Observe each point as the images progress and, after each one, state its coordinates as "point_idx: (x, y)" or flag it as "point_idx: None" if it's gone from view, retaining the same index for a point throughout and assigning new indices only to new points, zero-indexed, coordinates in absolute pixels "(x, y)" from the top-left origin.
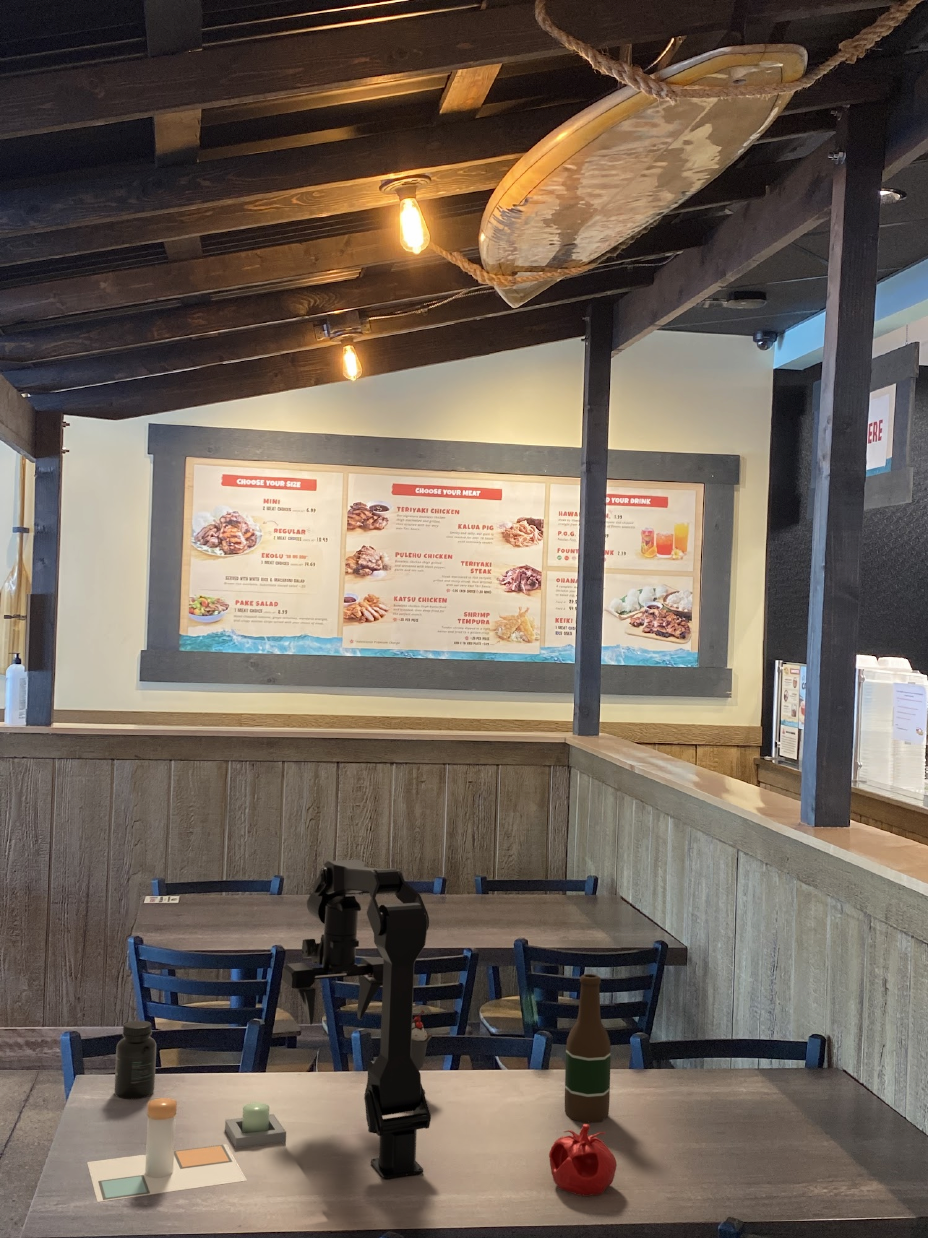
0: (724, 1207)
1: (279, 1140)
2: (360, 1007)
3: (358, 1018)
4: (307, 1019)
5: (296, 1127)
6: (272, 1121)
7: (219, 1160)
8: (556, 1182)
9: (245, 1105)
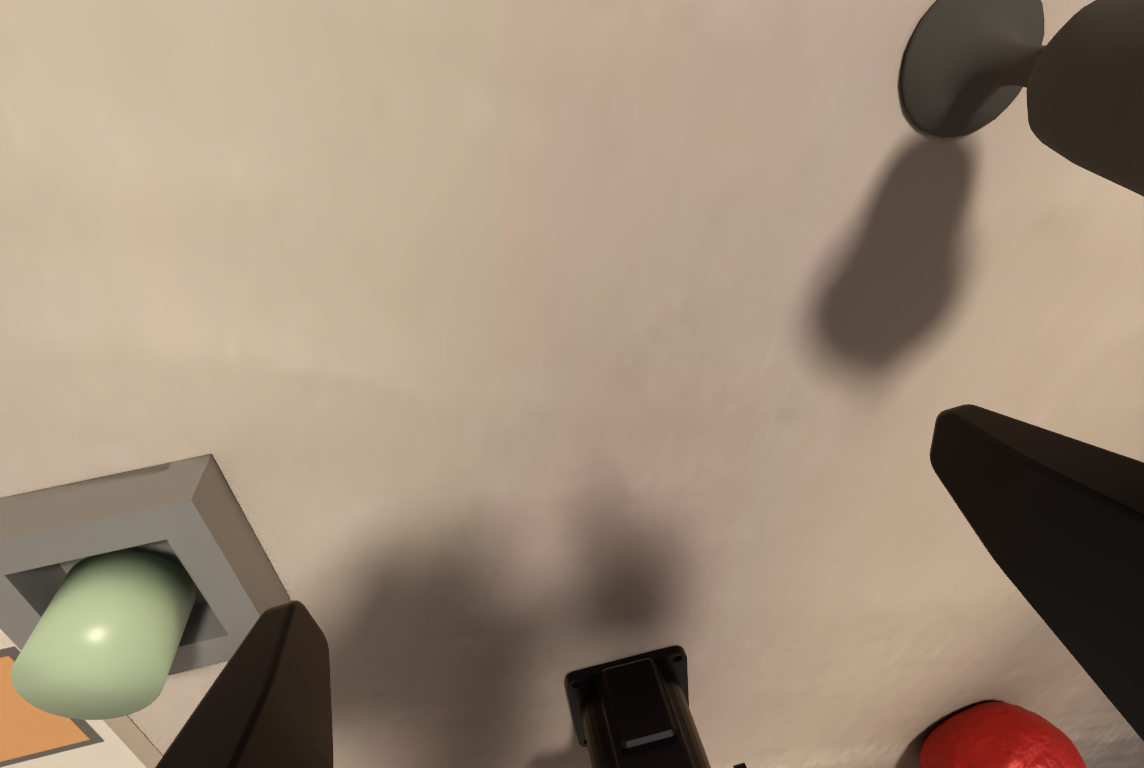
0: (1112, 760)
1: None
2: (1054, 571)
3: (937, 438)
4: (242, 656)
5: (323, 433)
6: (200, 571)
7: (49, 742)
8: (921, 764)
9: (17, 667)
